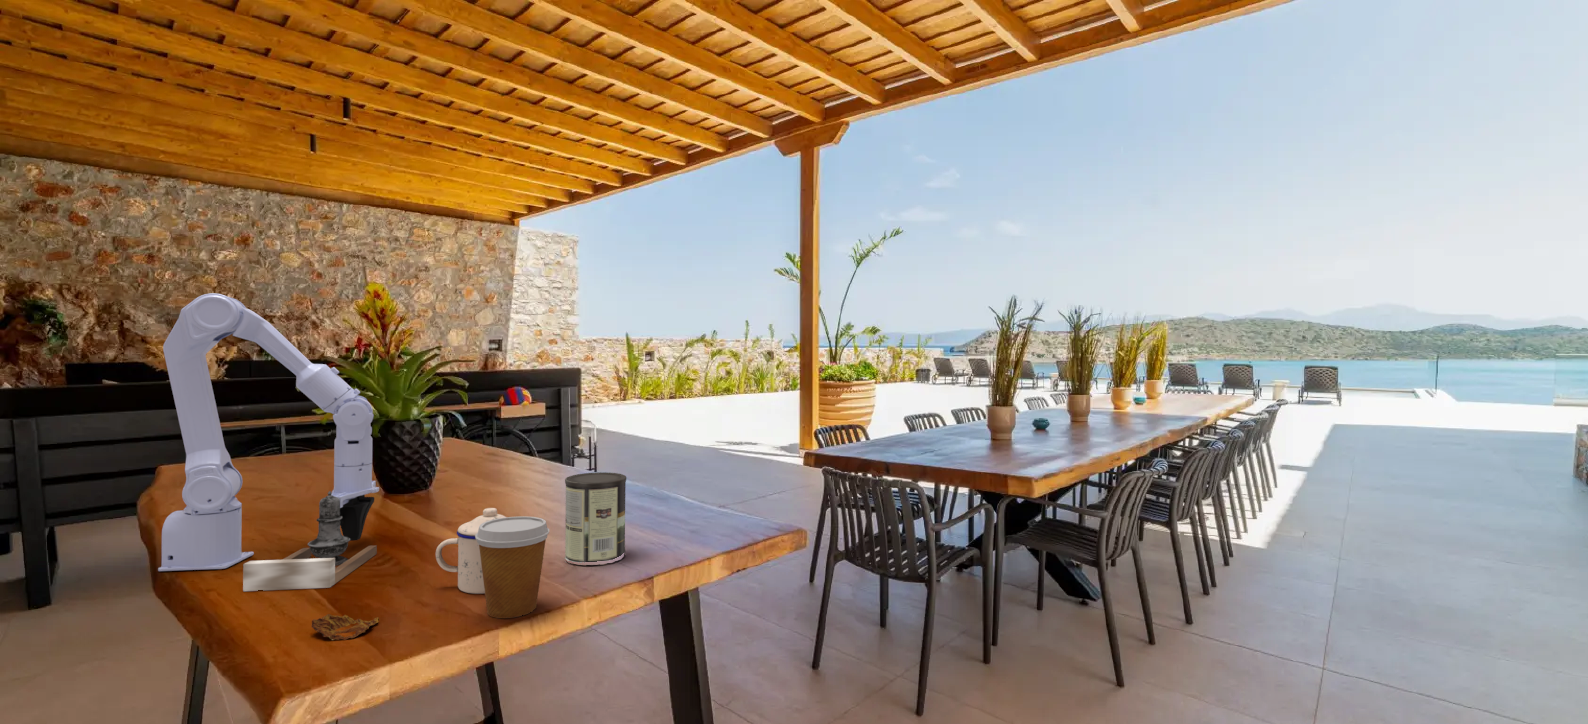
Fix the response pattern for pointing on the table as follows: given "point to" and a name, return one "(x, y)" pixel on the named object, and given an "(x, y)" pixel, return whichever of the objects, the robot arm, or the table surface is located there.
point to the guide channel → (300, 571)
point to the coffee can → (595, 517)
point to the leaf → (340, 626)
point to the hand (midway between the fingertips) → (352, 539)
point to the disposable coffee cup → (512, 563)
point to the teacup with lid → (468, 554)
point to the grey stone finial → (329, 531)
